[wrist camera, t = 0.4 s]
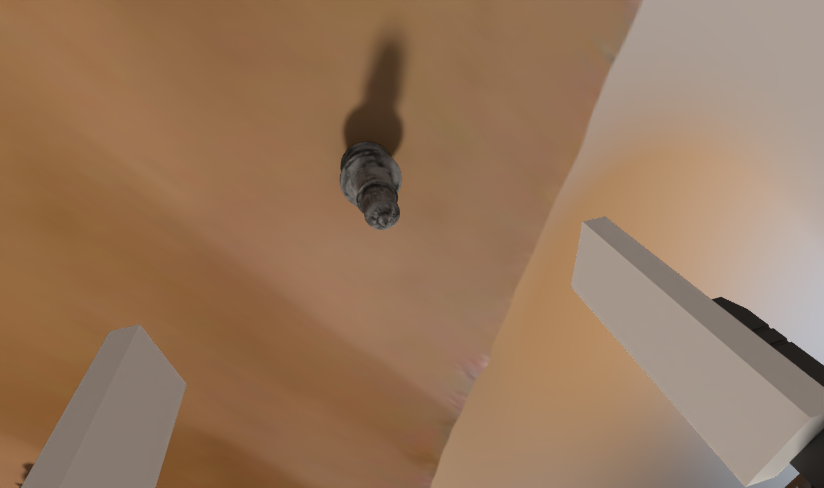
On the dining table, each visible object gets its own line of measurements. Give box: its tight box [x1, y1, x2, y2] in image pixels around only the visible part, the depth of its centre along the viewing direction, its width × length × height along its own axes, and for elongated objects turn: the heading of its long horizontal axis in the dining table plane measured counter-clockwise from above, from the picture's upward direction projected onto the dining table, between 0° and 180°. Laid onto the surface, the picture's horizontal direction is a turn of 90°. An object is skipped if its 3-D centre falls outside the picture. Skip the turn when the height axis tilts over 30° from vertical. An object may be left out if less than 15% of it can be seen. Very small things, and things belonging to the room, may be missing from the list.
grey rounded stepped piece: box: [340, 142, 402, 230], centre depth 34 cm, size 6×6×12 cm
